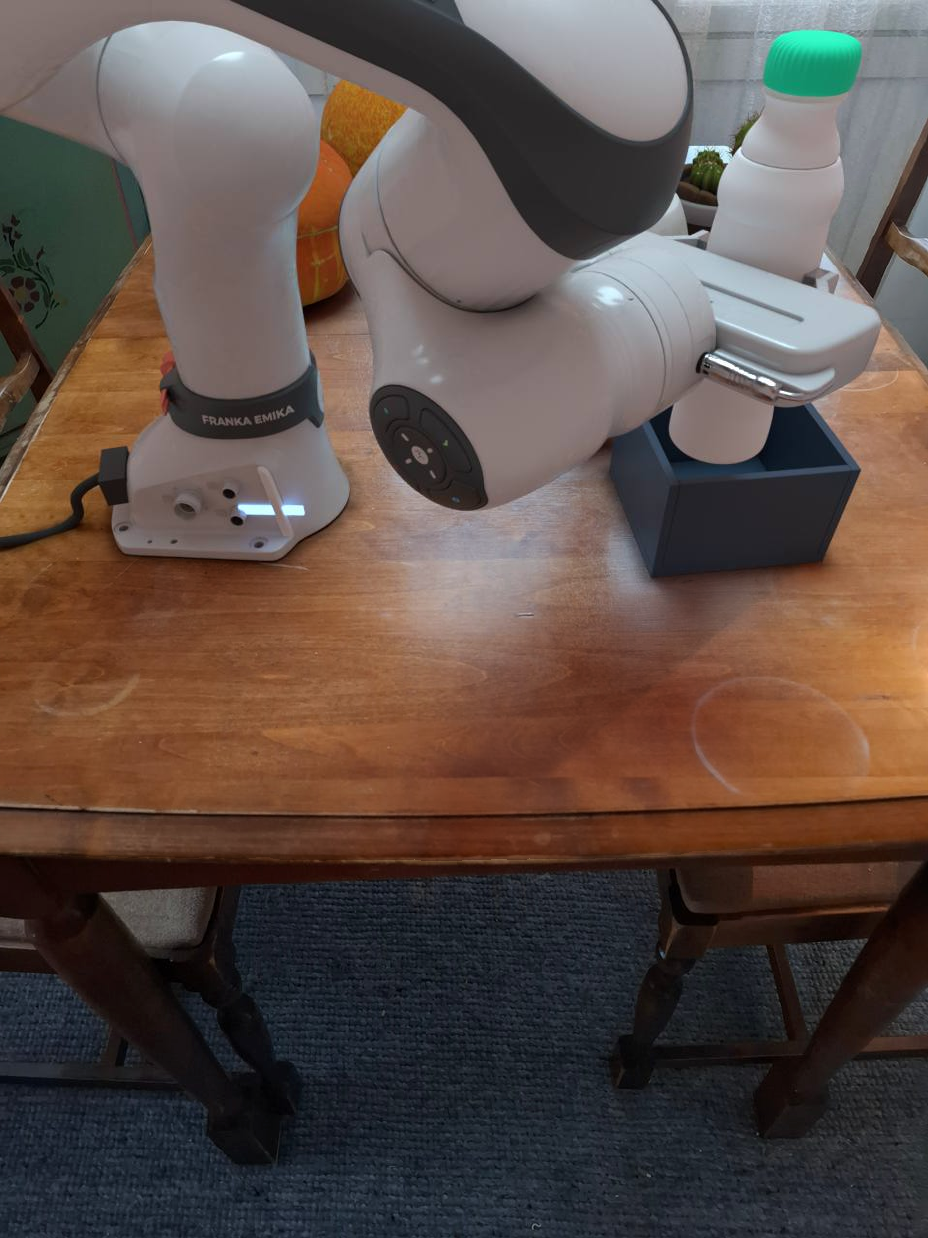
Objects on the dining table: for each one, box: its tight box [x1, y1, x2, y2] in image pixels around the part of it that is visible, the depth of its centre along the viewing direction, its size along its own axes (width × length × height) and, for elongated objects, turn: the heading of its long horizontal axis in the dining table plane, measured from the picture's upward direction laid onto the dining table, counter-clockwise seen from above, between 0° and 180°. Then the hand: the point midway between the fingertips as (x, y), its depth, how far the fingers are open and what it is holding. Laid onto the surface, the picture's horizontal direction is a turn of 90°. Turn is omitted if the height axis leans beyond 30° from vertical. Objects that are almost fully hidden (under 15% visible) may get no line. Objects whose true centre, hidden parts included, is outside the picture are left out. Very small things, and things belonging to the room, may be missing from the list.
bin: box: [608, 402, 862, 578], centre depth 72 cm, size 16×16×10 cm
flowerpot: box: [675, 105, 765, 236], centre depth 105 cm, size 14×15×20 cm
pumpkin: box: [296, 139, 353, 307], centre depth 101 cm, size 23×23×20 cm
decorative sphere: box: [319, 78, 408, 179], centre depth 121 cm, size 20×20×20 cm
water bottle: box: [669, 29, 863, 464], centre depth 51 cm, size 7×7×25 cm
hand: (765, 262), depth 51 cm, fingers closed on water bottle, 7 cm apart
